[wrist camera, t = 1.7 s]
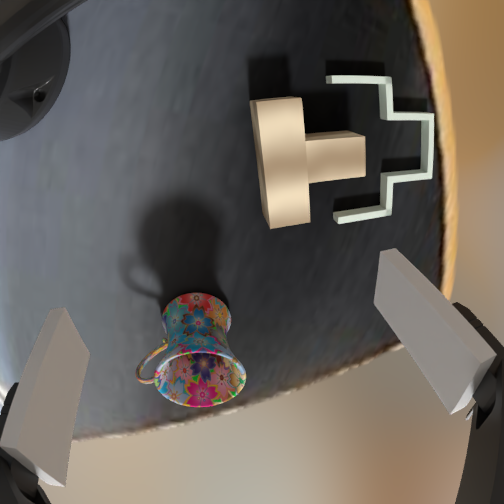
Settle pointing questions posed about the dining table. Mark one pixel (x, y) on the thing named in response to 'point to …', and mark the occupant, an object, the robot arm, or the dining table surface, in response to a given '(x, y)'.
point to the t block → (297, 158)
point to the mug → (196, 353)
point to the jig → (397, 176)
